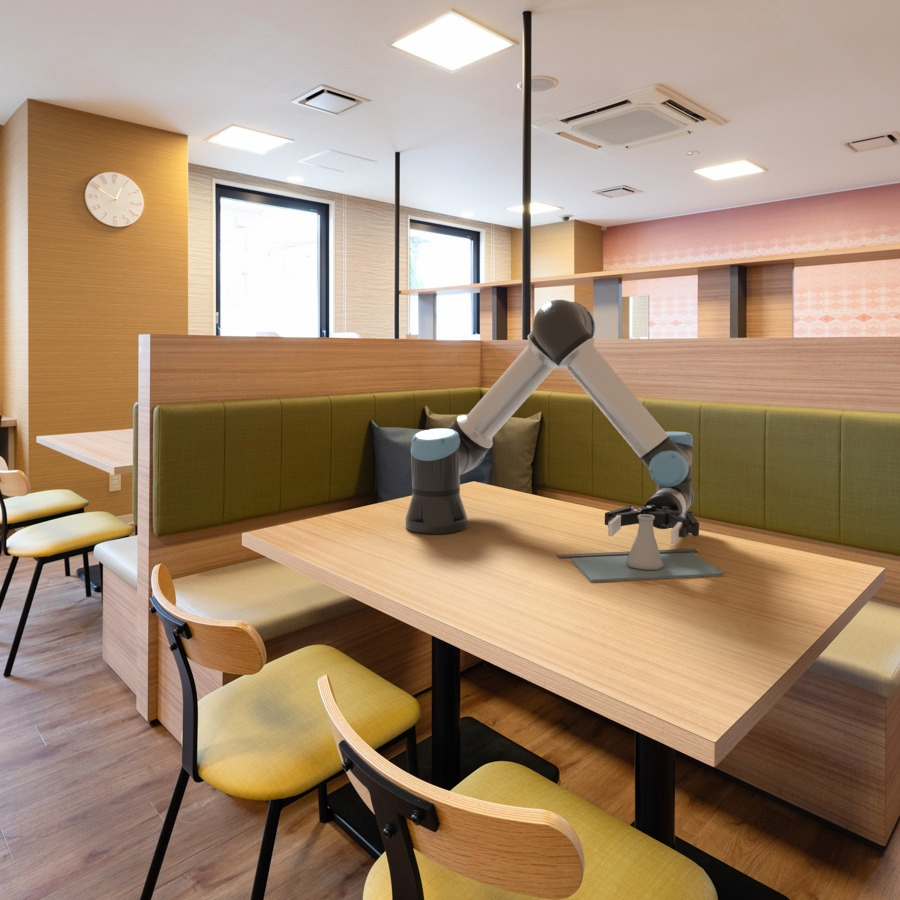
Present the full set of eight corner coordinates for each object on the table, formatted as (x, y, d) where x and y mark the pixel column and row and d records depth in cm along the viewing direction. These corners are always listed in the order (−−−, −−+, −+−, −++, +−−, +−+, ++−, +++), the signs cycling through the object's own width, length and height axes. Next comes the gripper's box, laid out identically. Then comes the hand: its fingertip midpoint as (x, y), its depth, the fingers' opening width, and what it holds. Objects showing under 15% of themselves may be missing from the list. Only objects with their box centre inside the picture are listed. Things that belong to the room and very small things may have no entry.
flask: (664, 561, 135) (666, 512, 133) (663, 572, 128) (665, 521, 127) (626, 558, 137) (628, 510, 136) (624, 569, 130) (625, 519, 129)
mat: (590, 582, 125) (590, 579, 125) (570, 560, 138) (570, 558, 138) (723, 575, 128) (724, 573, 128) (692, 554, 140) (692, 552, 140)
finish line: (559, 558, 139) (559, 556, 139) (557, 555, 141) (557, 554, 141) (697, 552, 142) (697, 550, 142) (694, 549, 144) (694, 548, 144)
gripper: (721, 531, 142) (705, 561, 123) (611, 519, 153) (580, 544, 134) (723, 497, 141) (707, 521, 122) (611, 487, 152) (581, 507, 133)
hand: (641, 533), depth 128 cm, fingers open, 11 cm apart
